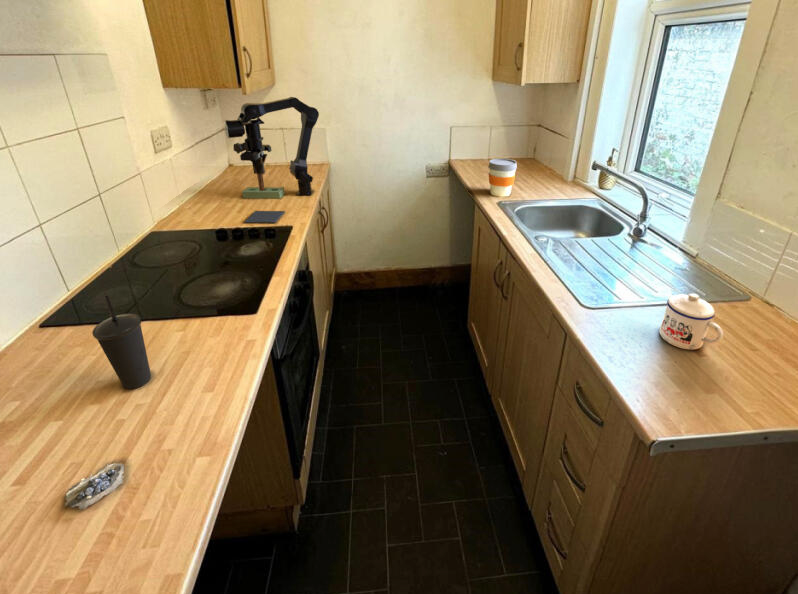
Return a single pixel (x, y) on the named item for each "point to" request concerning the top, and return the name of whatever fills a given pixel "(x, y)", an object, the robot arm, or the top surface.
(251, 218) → the mat
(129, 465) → the top surface
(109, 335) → the drinking cup
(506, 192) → the reusable coffee cup
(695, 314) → the teacup with lid
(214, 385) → the top surface
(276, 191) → the rack
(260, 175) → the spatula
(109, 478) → the blueberries
